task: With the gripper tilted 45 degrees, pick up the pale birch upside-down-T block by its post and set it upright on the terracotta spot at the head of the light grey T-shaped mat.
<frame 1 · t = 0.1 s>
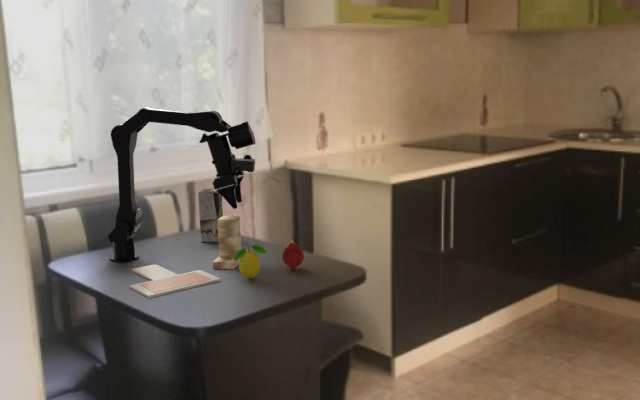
hand: (237, 205, 194), 15 cm above the table, tool pointing down, fingers open, 9 cm apart
lemon: (251, 279, 175), on the table
coffee box: (212, 239, 220), on the table
tee mat: (175, 284, 173), on the table
birch tee block: (231, 262, 192), on the table
onion: (293, 270, 183), on the table
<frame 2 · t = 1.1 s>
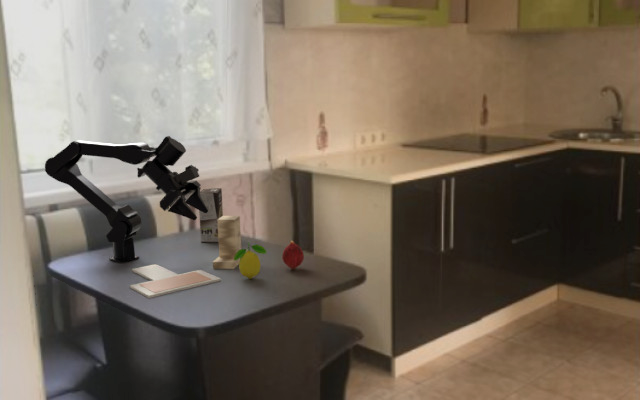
hand: (201, 215, 191), 13 cm above the table, tool tilted 45°, fingers open, 9 cm apart
nothing on the table moved.
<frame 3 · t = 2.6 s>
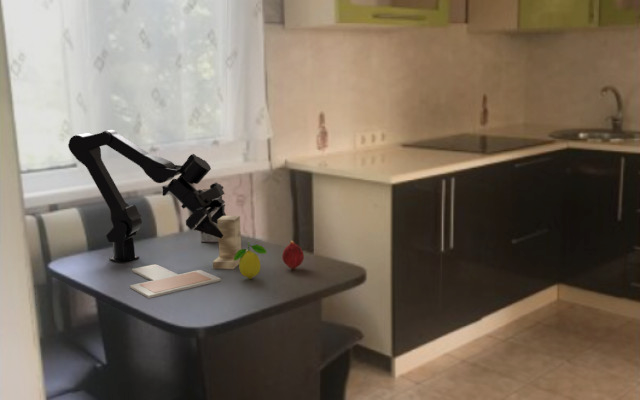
hand: (227, 233, 191), 8 cm above the table, tool tilted 45°, fingers open, 9 cm apart
nothing on the table moved.
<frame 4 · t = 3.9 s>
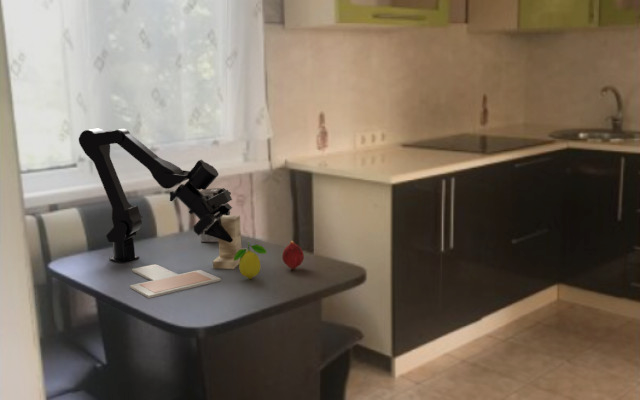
hand: (234, 239, 191), 7 cm above the table, tool tilted 45°, fingers closed on birch tee block, 5 cm apart
birch tee block: (231, 261, 192), on the table, touching gripper
everything else where it was.
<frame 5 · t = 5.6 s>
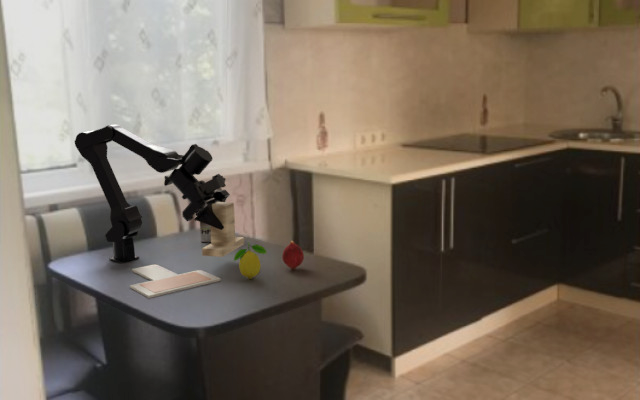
hand: (227, 226, 185), 11 cm above the table, tool tilted 45°, fingers closed on birch tee block, 5 cm apart
birch tee block: (223, 249, 187), point 5 cm above the table, touching gripper
everything else where it was.
when the fingers open (9 cm above the table, at t = 7.6 s): birch tee block drops 1 cm, resting on tee mat.
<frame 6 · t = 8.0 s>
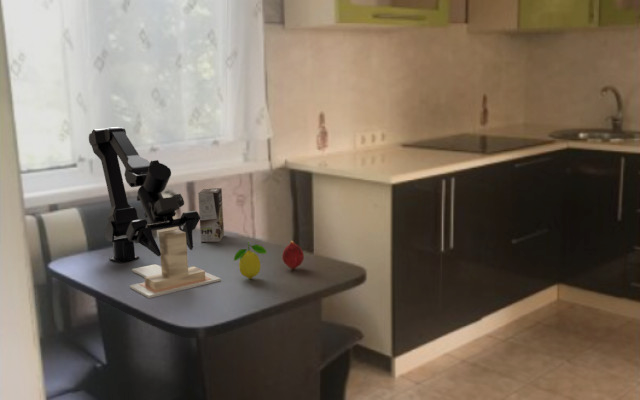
hand: (176, 252, 170), 9 cm above the table, tool tilted 45°, fingers open, 9 cm apart
birch tee block: (175, 281, 173), point 1 cm above the table, touching tee mat
everything else where it was.
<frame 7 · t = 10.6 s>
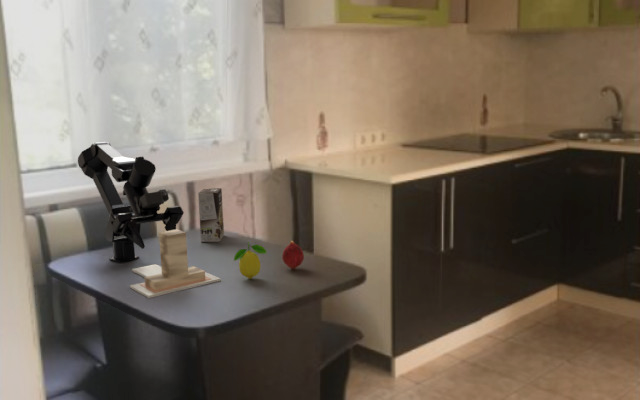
hand: (159, 245, 177), 9 cm above the table, tool tilted 45°, fingers open, 9 cm apart
nothing on the table moved.
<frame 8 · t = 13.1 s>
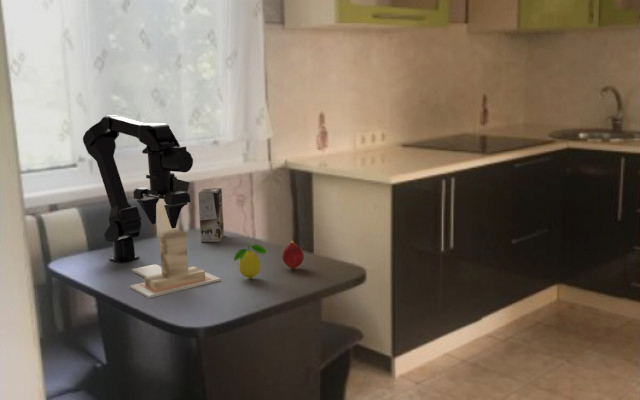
hand: (163, 226, 186), 12 cm above the table, tool pointing down, fingers open, 9 cm apart
nothing on the table moved.
at the end: birch tee block 0.0 cm off-centre on the tee mat, point 0.7 cm above the tee mat's base; birch tee block tilted 0°; the gripper is holding nothing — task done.
